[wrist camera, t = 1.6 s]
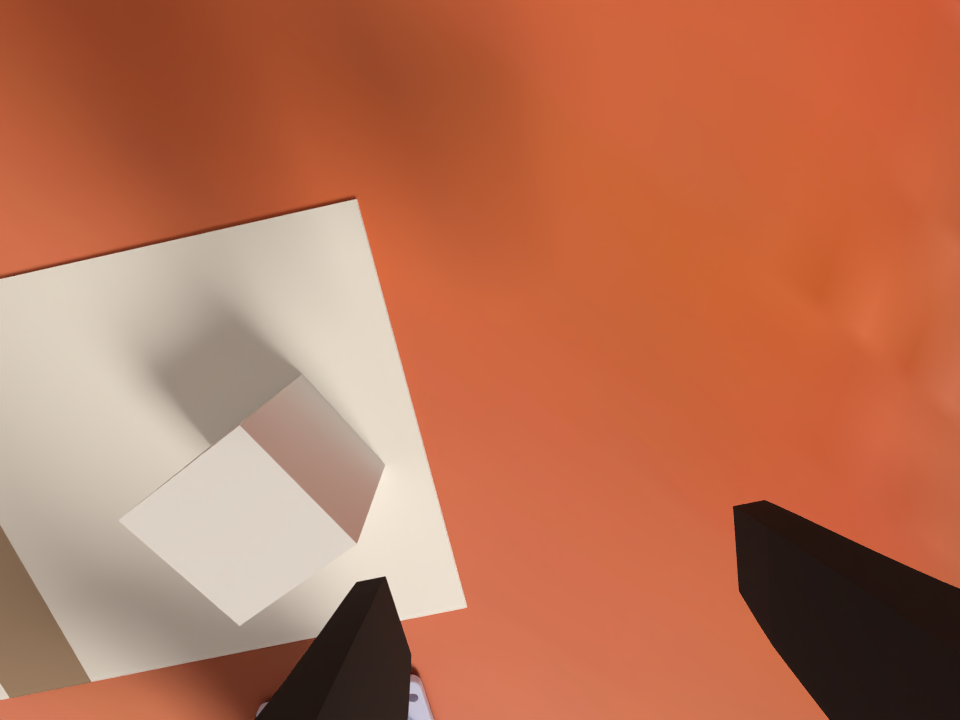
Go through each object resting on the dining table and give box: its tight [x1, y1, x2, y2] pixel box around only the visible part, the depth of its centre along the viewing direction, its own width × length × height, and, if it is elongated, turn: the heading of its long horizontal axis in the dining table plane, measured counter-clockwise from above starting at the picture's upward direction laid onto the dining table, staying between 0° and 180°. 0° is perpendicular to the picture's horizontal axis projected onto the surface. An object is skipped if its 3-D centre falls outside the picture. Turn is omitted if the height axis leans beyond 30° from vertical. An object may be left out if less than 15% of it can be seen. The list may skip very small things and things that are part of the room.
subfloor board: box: [0, 199, 467, 700], centre depth 19 cm, size 18×28×1 cm, turn 102°
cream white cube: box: [118, 374, 385, 626], centre depth 16 cm, size 5×5×5 cm
